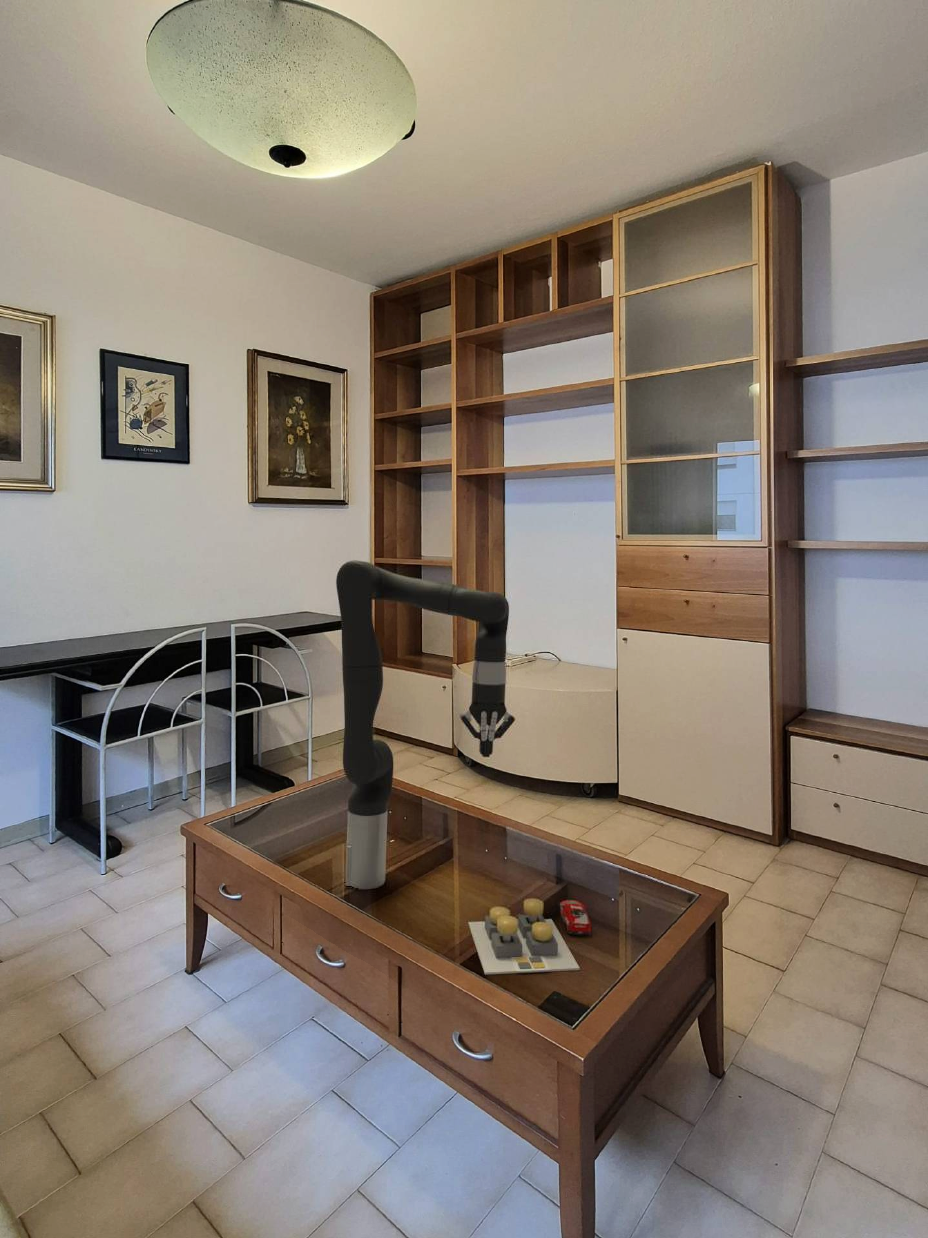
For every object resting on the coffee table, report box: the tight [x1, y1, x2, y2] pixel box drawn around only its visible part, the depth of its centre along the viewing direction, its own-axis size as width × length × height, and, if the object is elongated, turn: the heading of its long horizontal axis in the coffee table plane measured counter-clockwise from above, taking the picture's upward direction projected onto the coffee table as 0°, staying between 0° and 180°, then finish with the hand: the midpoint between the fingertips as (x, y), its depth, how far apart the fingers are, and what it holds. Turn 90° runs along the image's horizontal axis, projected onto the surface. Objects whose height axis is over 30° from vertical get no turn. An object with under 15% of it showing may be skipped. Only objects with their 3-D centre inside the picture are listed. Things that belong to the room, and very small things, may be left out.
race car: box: [558, 899, 592, 936], centre depth 151 cm, size 13×5×4 cm, turn 0°
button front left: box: [497, 915, 518, 943], centre depth 137 cm, size 4×4×4 cm
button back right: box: [523, 897, 544, 924], centre depth 145 cm, size 4×4×4 cm
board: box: [467, 914, 581, 975], centre depth 140 cm, size 18×19×3 cm
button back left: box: [489, 906, 511, 925], centre depth 144 cm, size 4×4×4 cm
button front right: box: [532, 922, 553, 941], centre depth 138 cm, size 4×4×4 cm
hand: (485, 756), depth 161 cm, fingers closed
